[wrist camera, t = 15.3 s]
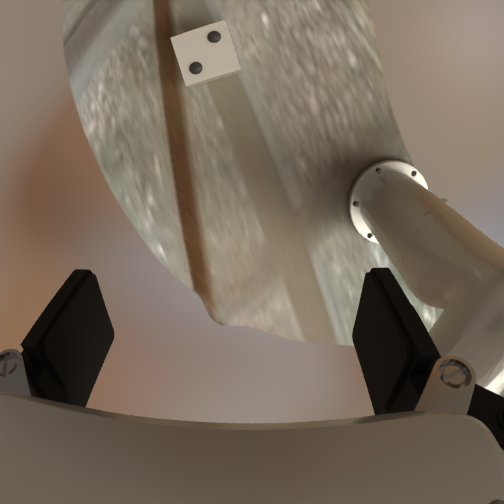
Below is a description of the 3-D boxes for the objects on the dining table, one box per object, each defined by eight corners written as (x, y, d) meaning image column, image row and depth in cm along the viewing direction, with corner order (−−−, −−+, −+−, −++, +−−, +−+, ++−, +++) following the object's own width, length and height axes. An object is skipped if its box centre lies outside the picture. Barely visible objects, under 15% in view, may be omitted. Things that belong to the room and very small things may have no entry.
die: (229, 29, 32) (224, 19, 26) (242, 72, 35) (240, 69, 29) (182, 44, 33) (169, 37, 27) (195, 86, 35) (185, 86, 30)
